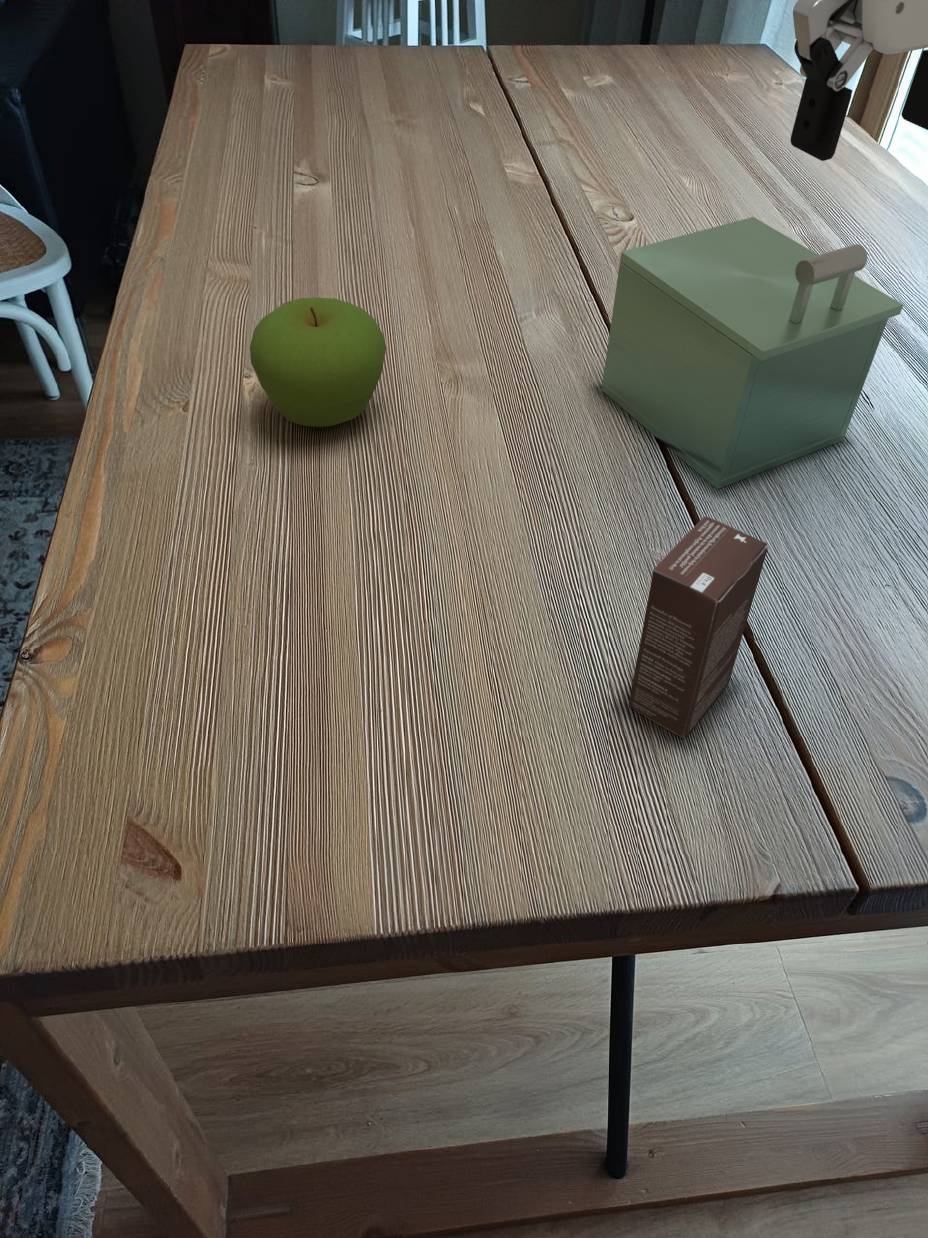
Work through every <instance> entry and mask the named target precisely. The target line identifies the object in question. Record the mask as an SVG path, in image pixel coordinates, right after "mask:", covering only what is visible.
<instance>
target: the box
mask: <svg viewBox="0 0 928 1238" xmlns="http://www.w3.org/2000/svg"><path fill="white" fill-rule="evenodd" d="M768 550H769V544H768V543H767V542H765V541H763V540H761V539H758V538H757V537H754V536H752V535H749V534H747V533H746V532H743V531H741V530H738V529H736V528H734V527H732V526H730V525H727V524H725V523H723V522H721V521H718V520H716V519H714V518H712V517H709V516H703V517H702V518H701V519H700V520H699V521H698V522H697V523H696V524H695V525H694V526H693V527H692V528H691V529H690V530H689V531H688V533H686V534H685V535H684V536H683V538H682V539H681V540H679V542H678V543H677V544H676V545H675V546H674V547H673V548H672V549H671V550H670V551H669V552H668V553H667V554H666V555H665V556H664V557H663V558H662V559H661V561H660V562H658V563H657V564H656V566H655V567H654V568H653V569H652V572H651V573H652V574H651V580H650V587H649V592H648V597H647V603H646V608H645V614H644V619H643V625H642V630H641V636H640V642H639V647H638V652H637V658H636V662H635V668H634V673H633V677H632V678H633V679H632V684H631V689H630V692H629V693H630V695H629V701H628V707H629V708H631V709H633V710H634V711H635V712H637V713H638V714H640V715H642V716H644V717H645V718H647V719H648V720H650V721H652V722H654V723H655V724H656V725H658V726H660V727H662V728H664V729H665V730H667V731H670V732H671V733H673V734H674V735H677V736H678V737H681V738H682V739H685V738H687V736H688V735H689V734H690V733H691V732H692V731H693V730H694V728H695V726H697V724H698V723H699V722H700V720H701V719H702V718H703V717H704V715H706V714H707V712H708V711H709V709H710V708H711V707H712V706H713V704H714V703H715V702H716V701H717V699H718V698H720V695H721V694H722V693H723V691H725V689H726V688H727V686H728V685H729V684H730V681H731V677H732V673H733V670H734V667H735V664H736V660H737V657H738V653H739V649H740V646H741V642H742V639H743V635H744V632H745V629H746V625H747V622H748V619H749V614H750V612H751V608H752V604H753V601H754V598H755V594H756V591H757V587H758V584H759V582H760V577H761V573H762V571H763V567H764V563H765V560H766V558H767V557H766V556H767V553H768Z"/></svg>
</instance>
